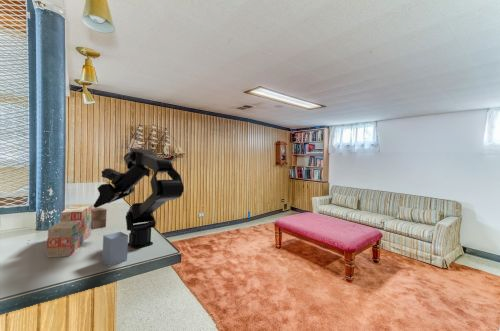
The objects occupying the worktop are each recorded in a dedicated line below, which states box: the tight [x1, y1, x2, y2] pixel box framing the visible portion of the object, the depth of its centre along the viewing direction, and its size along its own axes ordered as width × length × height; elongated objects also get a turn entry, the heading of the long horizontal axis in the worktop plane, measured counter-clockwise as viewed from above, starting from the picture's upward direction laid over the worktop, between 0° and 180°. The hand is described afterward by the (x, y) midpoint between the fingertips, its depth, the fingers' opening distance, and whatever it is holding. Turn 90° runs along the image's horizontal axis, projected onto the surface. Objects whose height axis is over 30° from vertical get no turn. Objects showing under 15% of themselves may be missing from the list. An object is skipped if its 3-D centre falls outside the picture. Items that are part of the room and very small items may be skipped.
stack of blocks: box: [46, 204, 93, 259], centre depth 80 cm, size 21×6×12 cm, turn 21°
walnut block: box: [91, 207, 107, 230], centre depth 101 cm, size 5×5×8 cm
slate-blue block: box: [101, 231, 129, 267], centre depth 70 cm, size 5×5×8 cm
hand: (101, 204), depth 86 cm, fingers open, 9 cm apart
